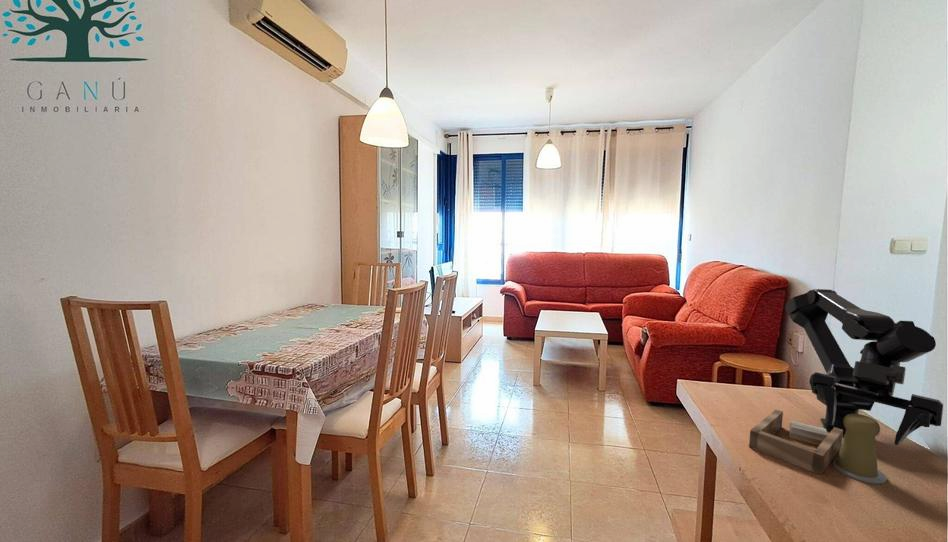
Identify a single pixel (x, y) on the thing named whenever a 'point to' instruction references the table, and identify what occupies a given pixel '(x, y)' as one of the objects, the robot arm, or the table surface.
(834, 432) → the brown wooden rectangular frame
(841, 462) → the olive knobbed peg
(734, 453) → the table surface
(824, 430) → the light grey rectangular block
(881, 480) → the slate pad
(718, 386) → the table surface
